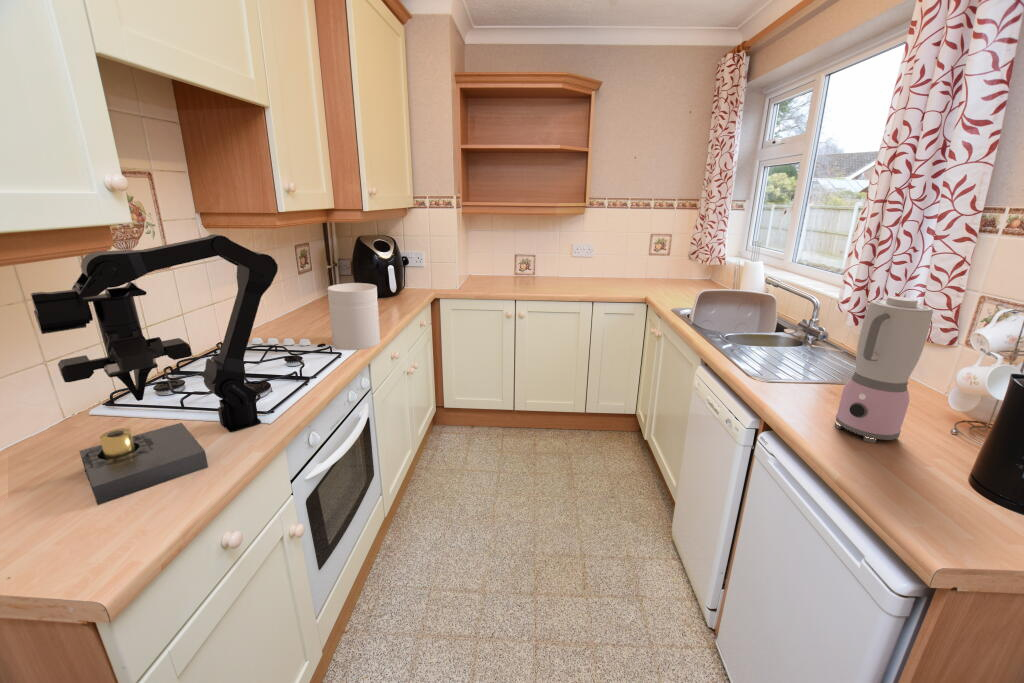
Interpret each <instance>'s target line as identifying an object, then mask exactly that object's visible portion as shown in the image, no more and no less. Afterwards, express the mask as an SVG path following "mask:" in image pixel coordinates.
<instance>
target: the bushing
mask: <svg viewBox="0 0 1024 683" xmlns="http://www.w3.org/2000/svg"><path fill="white" fill-rule="evenodd" d="M132 436H133V434H132V430H131V429H129V428H127V427H126V428H124V427H123V428H122V427H121V428H117V429H112V430H109V431H106V432H104V433H103V434H101V435H100V436H99V440H100V445H102V448H103V452H104V456H105V459H106V460H109V459H117V458H120V457H124V456H127V455H129V454H131V453H133V452H135V451H136V450H135V446H134V442H133V438H132Z"/></svg>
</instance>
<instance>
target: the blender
mask: <svg viewBox="0 0 1024 683" xmlns="http://www.w3.org/2000/svg"><path fill="white" fill-rule="evenodd" d="M933 314H934V310H933V308H932V307H930V306H927V305H924V304H919V302H918V299H914V298H911V297H904V296H890V295H889V296H887V298H886V299H874V300H871V301H869V303H868V304H867V308H866V313H865V315H864V316H863V317H864V318H863V321H862V324H861V328H860V331H859V332H860V333H859V335H858V340H857V346H856V357H855V370H854V372H853V375H851V377H850V378H849V379H848V380H847V381H846V383H845V385H844V386H843V388H842V392H841V395H840V400H839V404H838V408H837V413H836V414H835V415H836V416H835V418H836V421H837V422H838V423H839V424H840V425H841V426H843V427H844V428H846V429H847V430H846V429H845V430H846V431H848V430H850V431H849V432H851V431H852V432H851V433H853V432H854V433H853V434H856V433H857V434H856V435H859V436H862V435H863V436H862V437H863V442H866V443H872V444H876V442H877V440H883V441H886V440H890V441H891V440H896V439H898V438H899V437H900V435H901V431H902V430H901V429H902V426H903V424H904V420H905V418H906V414H907V411H908V407H909V404H910V393H909V390H908V381H909V378H910V377H911V375H912V373H913V371H914V370H915V369H916V366H917V364H918V362H919V360H920V357H921V355H922V354H923V350H924V348H925V344H926V341H927V338H928V335H929V330H930V328H931V322H932V318H933ZM834 426H835V428H836V429H837V430H841V429H842V428H843V427H841V426H839V425H837V424H836V422H835V421H834ZM844 428H843V429H844ZM864 436H866V437H869V438H866V437H864ZM870 438H874V439H870ZM875 439H877V440H875Z"/></svg>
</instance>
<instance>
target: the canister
mask: <svg viewBox="0 0 1024 683" xmlns="http://www.w3.org/2000/svg"><path fill="white" fill-rule="evenodd" d="M327 296H328V298H327V299H328V302H329V303H328V309H329V317H330V330H331V339H332V346H333V347H334V348H335V349H340V350H347V351H357V350H365V349H369V348H374V347H376V346H378V345H380V343H381V336H380V335H381V332H380V315H379V303H378V286H377V285H376V284H372V283H368V282H367V283H363V282H349V283H347V282H346V283H345V282H344V283H338V284H332V285H329V286H328V287H327Z"/></svg>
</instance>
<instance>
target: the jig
mask: <svg viewBox="0 0 1024 683" xmlns="http://www.w3.org/2000/svg"><path fill="white" fill-rule="evenodd" d="M132 438H133V442H134V446H135V450H136V451H135V452H133V453H131V454H129V455H127V456H124V457H120V458H117V459H109V460H106V459H105V456H104V452H103V448H102V445H101V444H98V445H96V446H95V445H94V446H91V447H89V448H84V449H81V450H79V453H80V458H81V461H82V464H83V468H84V470H85V475H86V476H87V480H88V482H89V486H90V487H91V491H92V494H93V496H94V498H95V502H96V505H97V506H100V505H103V504H106V503H108V502H111V501H114V500H117V499H120V498H122V497H126V496H128V495H131V494H135V493H137V492H140V491H143V490H146V489H149V488H152V487H155V486H158V485H160V484H163V483H167V482H169V481H172V480H175V479H178V478H181V477H183V476H186V475H190V474H193V473H195V472H198V471H201V470H204V469H208V468H209V463H208V460H207V454H206V449H204V448H203V446H202V445H201V444H200V442H198V440H196V438H195V436H193V434H192V433H191V432H190V430H188V428H187V427H186V426H185V425H184V423H183V422H179V423H175V424H171V425H168V426H165V427H160V428H158V429H157V428H156V429H154V430H150V431H146V432H142V433H138V434H136V435H135V434H134V435H132Z"/></svg>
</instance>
